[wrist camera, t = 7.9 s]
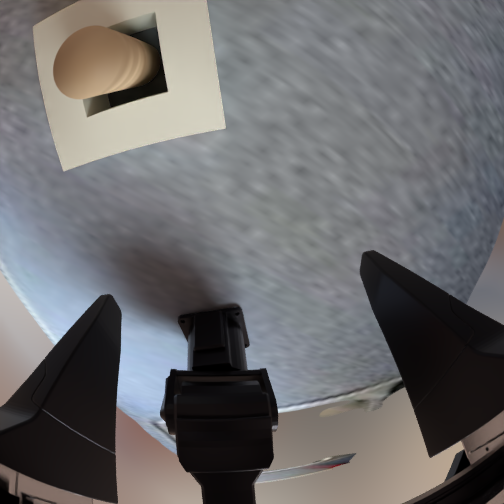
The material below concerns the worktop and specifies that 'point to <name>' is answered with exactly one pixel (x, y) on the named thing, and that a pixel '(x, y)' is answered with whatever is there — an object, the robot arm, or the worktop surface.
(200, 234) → the worktop surface
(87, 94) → the peg
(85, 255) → the worktop surface
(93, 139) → the socket
